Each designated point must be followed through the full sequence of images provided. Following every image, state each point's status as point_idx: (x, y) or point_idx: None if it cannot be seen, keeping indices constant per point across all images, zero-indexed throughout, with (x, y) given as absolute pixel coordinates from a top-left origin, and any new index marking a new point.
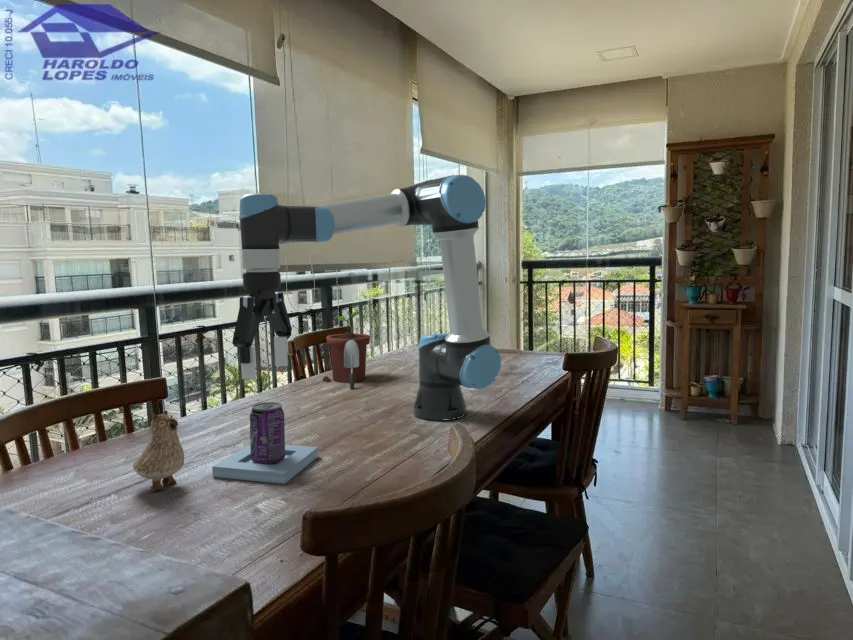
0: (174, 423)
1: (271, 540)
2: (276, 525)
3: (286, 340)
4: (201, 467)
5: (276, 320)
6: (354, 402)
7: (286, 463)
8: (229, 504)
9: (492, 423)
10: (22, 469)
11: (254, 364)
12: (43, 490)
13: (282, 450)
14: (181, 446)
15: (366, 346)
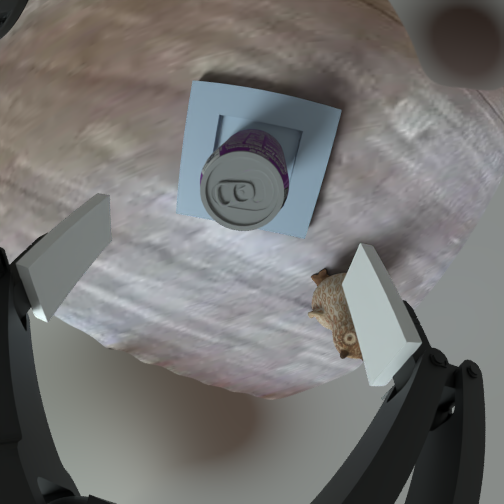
0: None
1: (484, 112)
2: (459, 108)
3: (30, 252)
4: (262, 259)
5: (21, 398)
6: None
7: (292, 115)
8: (403, 176)
9: None
10: (269, 396)
11: (384, 279)
12: (325, 367)
13: (260, 132)
14: (343, 293)
15: None
